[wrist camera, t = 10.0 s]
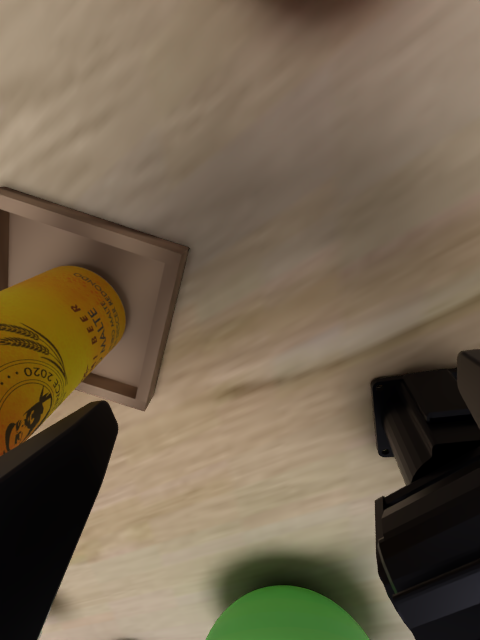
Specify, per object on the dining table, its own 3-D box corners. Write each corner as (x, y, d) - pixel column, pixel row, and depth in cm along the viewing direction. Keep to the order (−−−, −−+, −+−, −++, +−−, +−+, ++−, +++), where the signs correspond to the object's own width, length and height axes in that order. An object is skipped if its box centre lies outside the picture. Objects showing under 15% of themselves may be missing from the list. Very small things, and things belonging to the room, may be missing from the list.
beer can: (125, 359, 24) (-86, 615, 10) (40, 334, 24) (-289, 558, 10) (137, 278, 21) (-123, 471, 8) (42, 250, 21) (-393, 395, 7)
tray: (189, 247, 21) (181, 254, 19) (153, 396, 25) (144, 411, 24) (4, 186, 20) (-20, 187, 19) (2, 348, 25) (-17, 360, 24)
